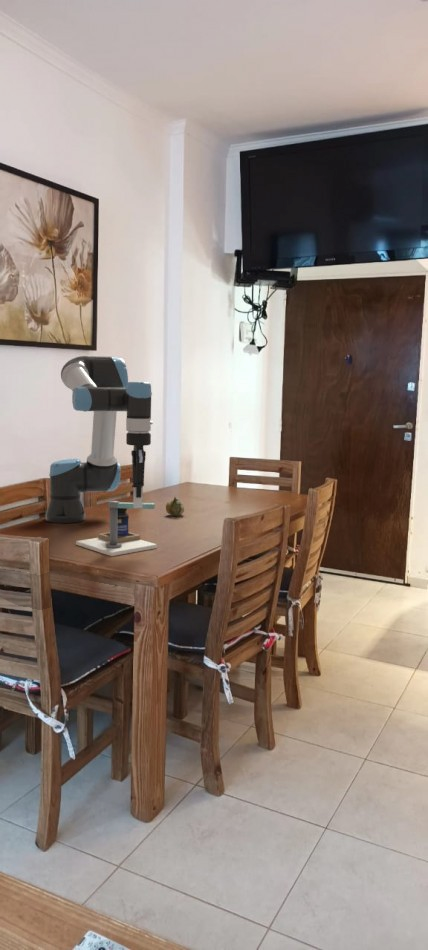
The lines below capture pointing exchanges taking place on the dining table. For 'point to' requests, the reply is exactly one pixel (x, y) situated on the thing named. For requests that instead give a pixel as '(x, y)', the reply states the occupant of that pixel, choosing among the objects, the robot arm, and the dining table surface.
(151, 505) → the keeper arm
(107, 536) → the base board
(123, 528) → the pill bottle
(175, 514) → the onion
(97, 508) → the dining table surface
